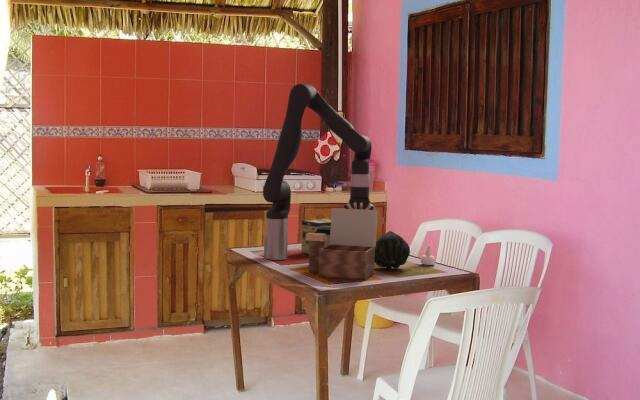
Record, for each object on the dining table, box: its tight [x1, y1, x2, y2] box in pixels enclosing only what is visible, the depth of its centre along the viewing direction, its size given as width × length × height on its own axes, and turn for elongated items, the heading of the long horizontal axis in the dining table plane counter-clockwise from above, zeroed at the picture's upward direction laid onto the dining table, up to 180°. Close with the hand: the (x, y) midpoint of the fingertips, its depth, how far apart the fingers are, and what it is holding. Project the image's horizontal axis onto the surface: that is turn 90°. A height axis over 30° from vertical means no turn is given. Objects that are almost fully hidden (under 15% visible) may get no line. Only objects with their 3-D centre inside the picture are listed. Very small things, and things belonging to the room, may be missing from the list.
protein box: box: [301, 218, 331, 256], centre depth 314 cm, size 10×16×16 cm
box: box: [308, 241, 375, 281], centre depth 268 cm, size 24×14×12 cm, turn 73°
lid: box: [330, 207, 378, 247], centre depth 274 cm, size 18×14×1 cm
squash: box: [374, 230, 411, 270], centre depth 282 cm, size 14×15×15 cm
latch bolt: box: [306, 233, 326, 241], centre depth 273 cm, size 7×4×2 cm, turn 73°
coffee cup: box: [315, 227, 331, 246], centre depth 290 cm, size 9×9×15 cm
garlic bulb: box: [419, 245, 436, 266], centre depth 297 cm, size 6×6×8 cm
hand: (358, 228), depth 282 cm, fingers closed
